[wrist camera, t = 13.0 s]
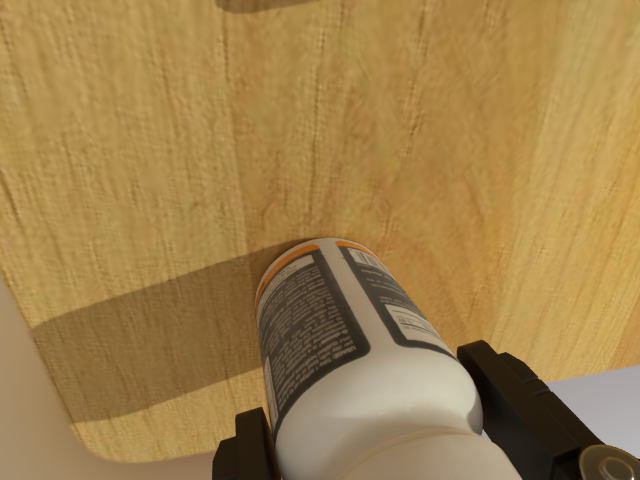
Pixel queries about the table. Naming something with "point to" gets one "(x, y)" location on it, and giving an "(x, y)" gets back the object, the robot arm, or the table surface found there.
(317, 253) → the pill bottle
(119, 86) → the table surface
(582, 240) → the table surface
